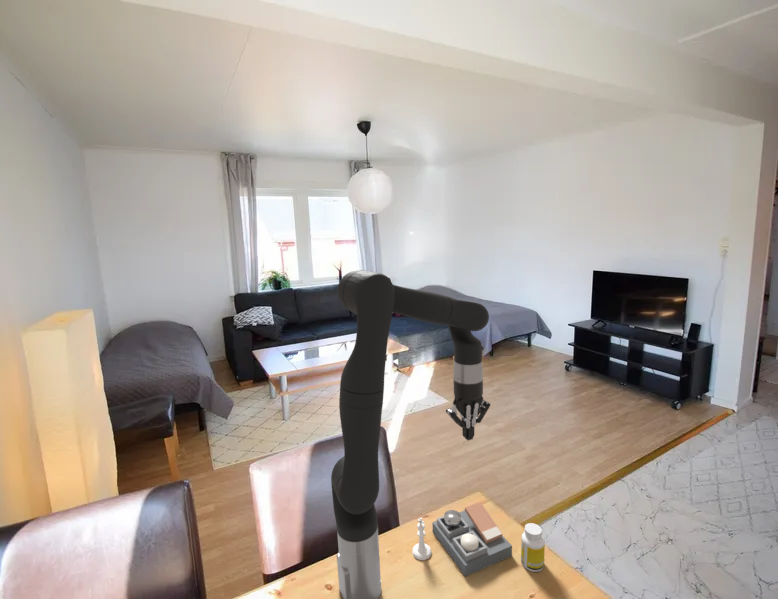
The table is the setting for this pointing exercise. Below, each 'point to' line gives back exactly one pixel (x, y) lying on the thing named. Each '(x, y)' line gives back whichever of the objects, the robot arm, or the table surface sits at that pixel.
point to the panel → (476, 558)
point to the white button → (469, 543)
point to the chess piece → (421, 544)
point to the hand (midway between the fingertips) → (468, 438)
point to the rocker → (483, 522)
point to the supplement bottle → (532, 548)
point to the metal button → (452, 519)
